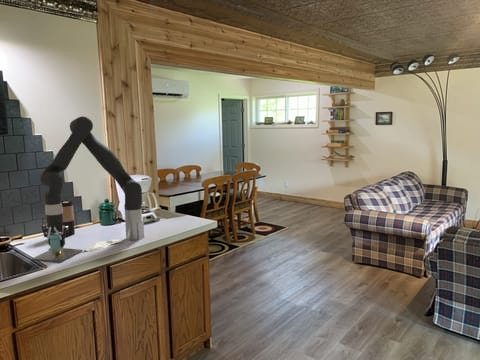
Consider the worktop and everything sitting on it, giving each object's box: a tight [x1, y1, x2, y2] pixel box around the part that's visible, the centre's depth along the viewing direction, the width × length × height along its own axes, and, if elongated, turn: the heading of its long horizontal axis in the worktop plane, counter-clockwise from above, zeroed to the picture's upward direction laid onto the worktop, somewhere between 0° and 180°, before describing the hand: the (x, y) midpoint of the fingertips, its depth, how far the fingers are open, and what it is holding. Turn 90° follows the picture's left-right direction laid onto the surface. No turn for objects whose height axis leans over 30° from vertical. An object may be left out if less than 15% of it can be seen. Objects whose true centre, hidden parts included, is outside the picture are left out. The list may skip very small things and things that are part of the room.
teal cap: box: [47, 232, 65, 251], centre depth 177 cm, size 10×6×7 cm, turn 167°
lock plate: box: [31, 247, 84, 264], centre depth 178 cm, size 16×16×6 cm
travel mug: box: [61, 199, 76, 237], centre depth 212 cm, size 8×8×20 cm
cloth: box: [82, 238, 125, 253], centre depth 194 cm, size 26×14×2 cm, turn 134°
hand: (56, 245), depth 177 cm, fingers closed on teal cap, 5 cm apart
